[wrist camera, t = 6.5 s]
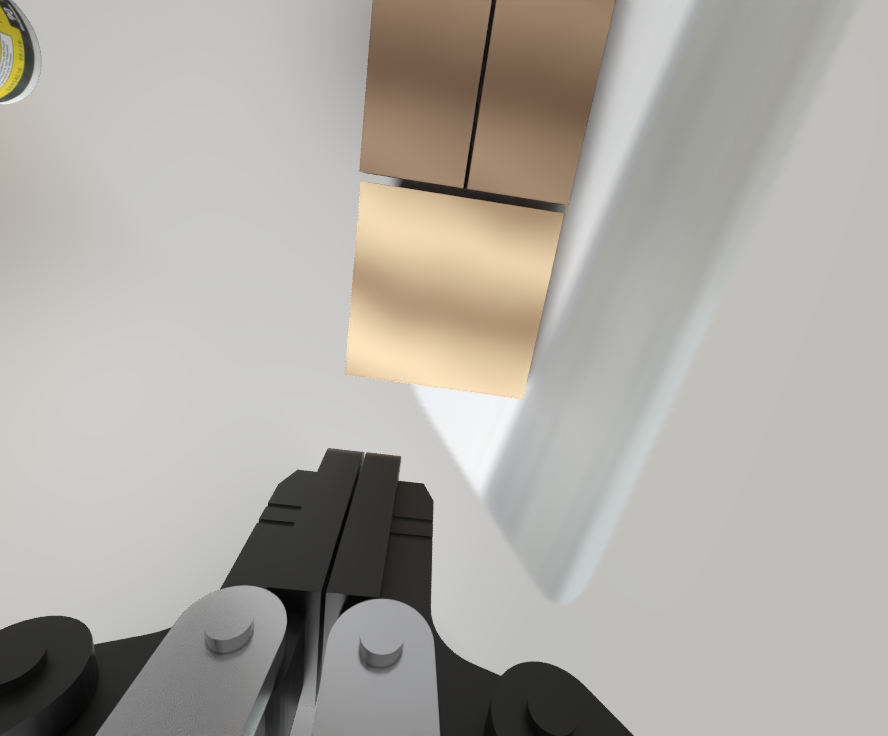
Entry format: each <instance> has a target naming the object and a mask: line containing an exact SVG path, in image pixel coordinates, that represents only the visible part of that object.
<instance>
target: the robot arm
mask: <svg viewBox="0 0 888 736" xmlns="http://www.w3.org/2000/svg"><path fill="white" fill-rule="evenodd" d="M400 463H401V456H393V455H385V454H377V453H366V455H365V458H364V452H358V451H349V450H340V449H331V448H328V449H327V451H326V453H325V456H324V458H323V460H322V462H321V465H320V467H319V469H318V472H313V471H304V470H297V471H296V472H294V473H293V474H291V475H290V476H289V477H288V478H286V479H285V480H283V481H282V482H281V483H280V484H278V486H277V488H276V490H275V491H274V493H273V495H272V497H271V499H270V500H269V502H268V506H267V507H266V508H265V510H264V511H263V513H262V515H261V517H260V518H259V523H257V524H256V526H255V527H254V529H253V531H252V533H251V535H250V536H249V538H248V540H247V542H246V544H245V546H244V547H243V549H242V551H241V553H240V554H239V556H238V558H237V560H236V562H235V563H234V565H233V567H232V569H231V571H230V573H229V574H228V576H227V578H226V580H225V582H224V583H223V585H222V587H221V589H220V590H217V591H215V592H213V593H210V594H208V595H206V596H204V597H203V598H201V599H199V600H198V601H197V602H195V603H194V604H192V605H191V606H190V607H189V608H188V609H187V610H186V611H184V612H183V613H182V615H181V616H180V617H179V619H178V620H177V621H176V622H175V624H174V625H173V626H172V627H171V628H168V629H165V630H163V631H160V632H156V633H152V634H148V635H143V636H138V637H132V638H127V639H121V640H116V641H111V642H105V643H100V644H95V645H94V644H93V638H92V635H91V633H90V630H89V629H88V627H87V626H86V625H85V624H84V623H82V622H80V621H79V620H77V619H74V618H71V617H65V616H46V617H39V618H34V619H30V620H25V621H22V622H19V623H16V624H14V625H11V626H8V627H6V628H4V629H1V630H0V736H290V732H291V729H292V725H293V721H294V718H295V714H296V710H297V707H298V706H306V707H315V705H316V701H317V706H316V711H315V717H314V723H313V729H312V735H311V736H633V735H632V734H631V733H630V731H629V730H628V729H627V728H626V727H624V725H623V724H622V723H621V722H620V721H619V720H618V719H617V718H616V717H615V716H614V715H613V714H612V713H611V712H610V711H609V710H608V709H607V708H606V707H605V706H604V705H603V704H602V703H601V702H600V701H599V700H598V699H597V698H596V697H595V696H594V695H593V694H592V693H591V692H590V691H589V690H588V689H587V688H586V687H585V686H584V685H583V684H582V683H581V682H580V681H579V680H578V679H576V678H575V677H574V676H572V675H571V674H570V673H568V672H566V671H565V670H563V669H561V668H559V667H557V666H554V665H551V664H548V663H543V662H524V663H520V664H517V665H515V666H513V667H511V668H510V669H508V670H507V671H506V672H505V673H504V674H503V675H502V676H500V675H497V674H495V673H493V672H490V671H488V670H486V669H483V668H481V667H479V666H477V665H474V664H472V663H470V662H468V661H466V660H464V659H462V658H461V657H460V656H458V655H456V654H455V653H454V652H453V651H452V650H451V649H449V647H447V646H446V644H445V643H444V642H443V641H442V639H441V638H440V636H439V635H438V633H437V631H436V629H435V627H434V624H433V621H432V617H431V574H432V536H433V535H432V534H433V533H432V532H433V499H432V498H431V496H430V494H429V492H428V491H427V489H426V487H425V486H424V484H422V483H413V482H404V481H398V480H399V472H400ZM318 693H319V694H318ZM317 697H318V700H317Z"/></svg>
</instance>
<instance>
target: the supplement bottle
mask: <svg viewBox="0 0 888 736" xmlns="http://www.w3.org/2000/svg"><path fill="white" fill-rule="evenodd" d="M40 72H41V51H40V47H39V43H38V40H37V37H36V34H35V32H34V30H33V27H32V26H31V24H30V22H29V20H28V19H27V17H26V16H25V14H24V13H23V12H22V11H21V9H20V8H19V7H18V6H17V5H16V4H15V3H14V2H13V1H12V0H0V104H9V103H15V102H18V101H20V100H22V99H24V98H25V97H27V96H28V95H29V94H30V93H31V92H32V91H33V89H34V88H35V86H36V84H37V82H38V80H39V76H40Z"/></svg>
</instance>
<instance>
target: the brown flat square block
mask: <svg viewBox="0 0 888 736" xmlns="http://www.w3.org/2000/svg"><path fill="white" fill-rule="evenodd" d="M491 1H492V0H373V3H372V16H371V30H370V42H369V55H368V68H367V80H366V93H365V106H364V119H363V132H362V145H361V158H360V172H363V173H368V174H374V175H381V176H387V177H393V178H399V179H405V180H412V181H418V182H424V183H430V184H437V185H443V186H449V187H455V188H463V186H464V179H465V172H466V166H467V159H468V153H469V146H470V139H471V133H472V126H473V120H474V113H475V107H476V100H477V93H478V87H479V80H480V74H481V67H482V61H483V54H484V47H485V41H486V34H487V28H488V21H489V15H490V8H491ZM614 5H615V0H495V3H494V9H493V16H492V22H491V29H490V35H489V42H488V48H487V55H486V61H485V68H484V74H483V81H482V87H481V94H480V100H479V107H478V113H477V120H476V126H475V133H474V139H473V146H472V152H471V159H470V165H469V172H468V178H467V185H466V189H468V190H474V191H480V192H487V193H493V194H499V195H505V196H512V197H518V198H524V199H530V200H537V201H543V202H549V203H555V204H563V205H569V201H570V196H571V192H572V187H573V183H574V179H575V174H576V170H577V166H578V161H579V157H580V153H581V148H582V144H583V140H584V135H585V131H586V127H587V122H588V118H589V113H590V109H591V105H592V100H593V96H594V92H595V87H596V83H597V79H598V74H599V70H600V66H601V61H602V57H603V53H604V48H605V44H606V39H607V35H608V31H609V26H610V22H611V18H612V13H613V9H614Z"/></svg>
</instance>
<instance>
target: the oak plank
mask: <svg viewBox="0 0 888 736" xmlns="http://www.w3.org/2000/svg"><path fill="white" fill-rule="evenodd" d="M563 217H564V213H558V212H552V211H546V210H539V209H533V208H527V207H520V206H514V205H508V204H502V203H495V202H489V201H483V200H476V199H470V198H464V197H457V196H451V195H445V194H439V193H432V192H426V191H420V190H413V189H407V188H401V187H395V186H388V185H382V184H376V183H369V182H363V181H361V186H360V198H359V210H358V222H357V234H356V246H355V258H354V271H353V283H352V295H351V307H350V319H349V332H348V343H347V356H346V368H345V375H350V376H357V377H364V378H372V379H379V380H386V381H394V382H401V383H408V384H415V385H423V386H430V387H437V388H445V389H452V390H459V391H467V392H474V393H481V394H489V395H496V396H503V397H511V398H518V399H523V397H524V392H525V388H526V383H527V379H528V374H529V370H530V365H531V361H532V356H533V352H534V348H535V343H536V339H537V334H538V330H539V325H540V321H541V316H542V312H543V307H544V303H545V298H546V294H547V289H548V285H549V280H550V276H551V271H552V267H553V262H554V258H555V253H556V249H557V244H558V240H559V235H560V231H561V226H562V222H563Z"/></svg>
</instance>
